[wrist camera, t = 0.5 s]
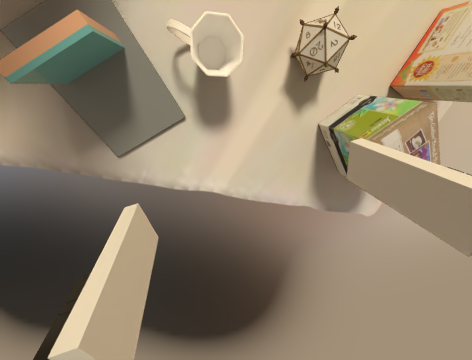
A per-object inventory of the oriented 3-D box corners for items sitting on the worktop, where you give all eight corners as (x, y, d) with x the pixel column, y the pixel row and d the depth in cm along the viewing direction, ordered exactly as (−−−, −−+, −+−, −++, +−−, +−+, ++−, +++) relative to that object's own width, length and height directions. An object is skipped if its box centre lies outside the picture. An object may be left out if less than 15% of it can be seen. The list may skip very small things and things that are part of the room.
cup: (223, 87, 33) (231, 88, 26) (164, 57, 29) (155, 48, 22) (240, 43, 31) (254, 30, 23) (178, 4, 27) (173, -24, 20)
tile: (56, 71, 27) (-9, 65, 18) (115, 33, 27) (77, 9, 18) (67, 83, 28) (10, 83, 19) (124, 47, 27) (92, 31, 19)
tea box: (315, 124, 40) (375, 144, 27) (357, 93, 38) (441, 98, 25) (337, 174, 47) (393, 209, 34) (374, 149, 45) (446, 175, 33)
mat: (4, 31, 25) (0, 30, 24) (93, -28, 24) (91, -30, 24) (119, 155, 34) (118, 156, 34) (185, 116, 34) (185, 116, 33)
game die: (296, 66, 37) (305, 101, 33) (278, 24, 31) (286, 61, 26) (347, 36, 33) (366, 72, 28) (338, -21, 26) (360, 15, 22)
